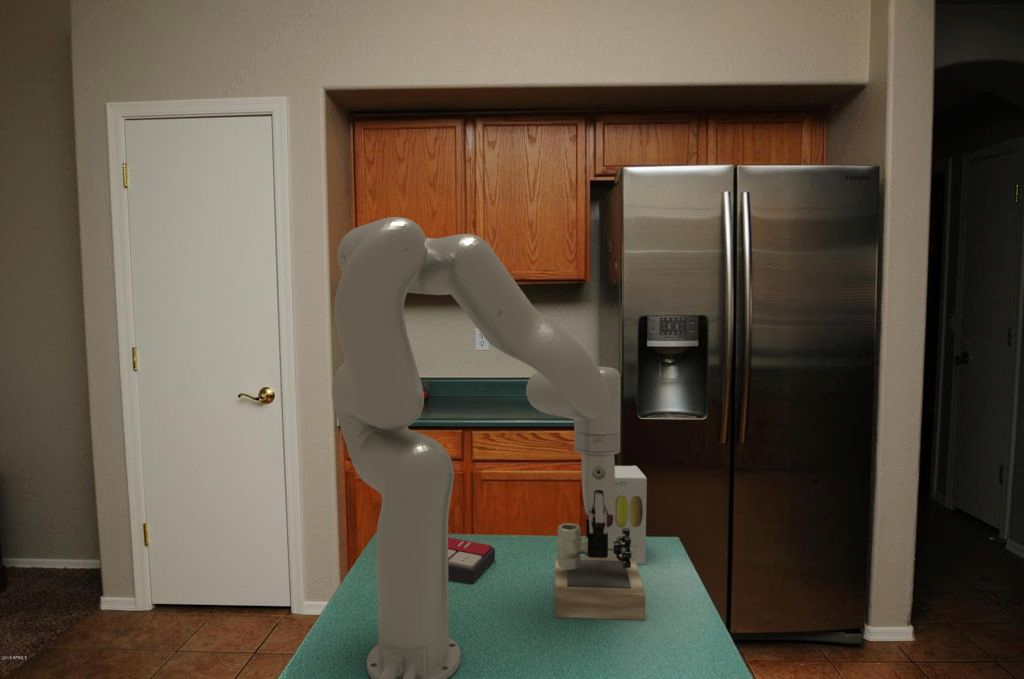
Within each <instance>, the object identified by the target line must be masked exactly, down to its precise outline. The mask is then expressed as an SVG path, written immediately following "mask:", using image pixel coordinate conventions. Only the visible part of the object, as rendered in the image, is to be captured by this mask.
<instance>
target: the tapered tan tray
mask: <svg viewBox="0 0 1024 679" xmlns="http://www.w3.org/2000/svg"><path fill="white" fill-rule="evenodd" d="M630 561H631V568H623V563H626V562H624V561H619V560H618V559H617V558H590V557H588V556H581V565H580V567H578V568H577V569H573V570H568V569H563V568H561V567H560V566H559V565H558V555H556V556H555V566H554V567H555V568H554V569H555V570H554V575H555V576H554V618H571V619H572V618H573V619H574V618H575V619H599V620H602V619H603V620H628V621H646V592H645V589H644V586H643V583H642V578H641V576H640V572H639V569H638V566H637V565H638V564H636V561H635V558H630Z"/></svg>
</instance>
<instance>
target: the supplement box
mask: <svg viewBox="0 0 1024 679" xmlns="http://www.w3.org/2000/svg"><path fill="white" fill-rule="evenodd" d="M647 478H648V477H646V475H645V474H644V473H643V471H642V470H641V469H640V468H639V467H638V466H637V465H615V506H616V514H615V515H614V516H612V515H609V514H608V512H607V532H608V544H613V542H614V541H616V538H617V537H619V536H624V534H622V529H623V528H629V529H630V535H629V537H630V538H631V545H630V551H631V558H635V561H636V565H646V547H647V545H646V541H647V540H646V539H647V498H648V497H647V495H648V494H647V490H648V489H647V486H648V483H647V482H648V481H647V480H648V479H647ZM620 542H622V540H620ZM619 556H620V557H622V554H619ZM607 558H617V557H616V554H614V552H613V551H608V557H607Z"/></svg>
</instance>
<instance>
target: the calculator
mask: <svg viewBox="0 0 1024 679" xmlns="http://www.w3.org/2000/svg"><path fill="white" fill-rule="evenodd" d="M495 560H496V548H495V547H493V545H491V544H486V543H481V542H477V541H475V542H474V541H469V540H465V539H461V538H460V539H459V538H456V537H455V538H454V537H449V536H448V582H451V583H452V582H453V583H459V584H465V585H474V584H476V582H477V581H478V580H479V579H480V577H482V576H483V574H485V572H486V571H487V570H488V569H489V568H490V567H491V566H492V565H493V564H494V563H495Z"/></svg>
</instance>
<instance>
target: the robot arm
mask: <svg viewBox="0 0 1024 679" xmlns="http://www.w3.org/2000/svg"><path fill="white" fill-rule="evenodd" d="M336 254H337V256H336V258H337V263H338V264H337V265H338V267H339V268H340V271H341V272H342V273H341V276H340V279H339V282H338V286H337V289H336V293H335V298H334V321H335V326H336V332H337V335H338V339H339V342H340V343H339V344H340V346H341V347H340V348H341V351H342V352H341V353H342V356H343V359H344V362H342V364H341V365H339V367H338V369H337V370H336V372H335V374H334V376H333V378H332V379H333V381H332V385H331V395H332V402H333V407H334V411H335V414H336V417H337V421H338V424H339V427H340V429H341V434H342V436H343V440H344V442H345V445H346V449H347V452H348V455H349V458H350V460H351V463H352V466H353V468H354V470H355V472H356V474H357V476H358V477H359V478H360V479H361V480H362V481H363V482H364V483H365V484H366V485H368V486H369V487H371V488H372V489H374V490H375V491H377V492H378V493H379V494H380V495H381V506H380V507H381V508H380V513H379V516H378V521H377V527H376V561H377V562H376V563H377V564H376V565H377V566H376V569H377V570H376V572H377V578H376V579H377V628H378V629H377V633H378V634H377V635H378V636H377V638H378V640H377V641H378V644H376V645H375V646H374V647H373V648H372V649H371V650H370V652H369V653H368V655H367V659H366V671H367V674H368V676H369V677H370V678H371V679H449V678H450V677H451V676H452V675H453V674H454V673H455V672H456V671H457V670H458V669H459V666H460V664H461V650H460V647H459V645H458V643H457V642H456V641H455V640H454V639H452V638H451V637H450V621H449V620H450V613H449V610H450V607H449V605H450V604H449V602H450V601H449V598H450V597H449V581H448V537H449V514H450V504H451V497H452V493H453V488H454V481H455V480H454V478H455V477H454V476H455V472H454V465H453V461H452V459H451V457H450V455H449V452H448V451H447V450H446V449H445V447H444V446H443V445H442V444H441V443H439V441H437V440H436V439H434V438H432V437H431V436H428V435H426V434H424V433H420V432H418V431H415V430H412V429H409V426H411V425H412V424H414V423H415V422H416V421H417V420H418V418H419V417H420V416H421V414H422V411H423V409H424V404H425V394H424V389H423V384H422V379H421V377H420V373H419V369H418V367H417V364H416V360H415V357H414V352H413V350H412V346H411V344H410V339H409V335H408V331H407V327H406V326H407V325H406V322H405V321H406V320H405V315H404V314H405V312H404V307H405V301H406V297H407V294H408V293H411V294H422V295H431V296H432V295H434V296H444V295H445V296H449V295H450V296H451V297H452V298H453V299H454V300H455V302H456V303H457V304H458V305H459V306H460V308H461V309H462V310H463V311H464V313H465V314H466V315H467V317H468V318H469V319H470V320H471V321H472V323H473V324H474V326H476V328H477V330H478V331H479V332H480V334H482V336H483V337H484V338H485V340H486V341H487V342H488V344H489V345H491V346H492V347H494V348H495V349H497V350H499V351H500V352H501V353H503V354H505V355H507V356H509V357H511V358H514V359H516V360H518V361H519V362H522V363H524V364H526V365H527V366H529V367H531V368H532V369H534V370H535V371H536V372H534V373H533V374H532V375H531V376H530V378H529V379H528V381H527V384H526V388H525V393H526V397H527V400H528V402H529V403H530V404H529V405H531V406H532V407H533V408H535V409H536V410H537V411H538V412H542V413H543V414H547V415H551V416H555V417H562V418H567V419H570V420H574V424H573V425H574V428H573V430H574V437H573V438H574V439H573V440H574V441H573V442H574V443H573V444H574V447H573V450H574V451H575V452H576V453H578V454H581V488H582V498H583V505H584V511H585V512H584V513H585V514H586V515H587V518H586V519H585V522H586V523H585V524H586V525H585V526H586V527H585V533H586V534H585V537H588V556H587V557H590V558H607V557H608V532H607V512H608V514H609V515H612V516H614V515H615V514H616V506H615V466H616V464H615V455H617V454H619V453H621V400H622V399H621V397H622V395H621V394H622V393H621V392H622V391H621V388H622V387H621V386H622V384H621V374H620V372H619V370H618V369H616V368H613V367H608V366H597V364H596V363H595V361H594V360H593V358H592V357H591V356H590V354H589V353H588V351H587V350H586V349H585V348H584V347H583V346H582V345H581V344H580V343H579V342H578V341H577V340H576V339H575V338H574V337H572V336H571V335H570V334H569V333H567V332H566V331H565V330H563V329H562V328H561V327H559V326H558V325H557V324H555V323H554V322H553V321H552V320H551V319H549V318H548V317H547V316H546V315H544V314H542V313H541V312H539V311H538V310H537V309H536V308H535V307H534V306H533V304H532V303H531V302H530V300H529V298H528V297H527V296H526V294H525V293H524V292H523V290H522V289H521V288H520V286H519V285H518V283H517V282H516V280H515V279H514V277H513V276H512V275H511V273H510V272H509V271H508V269H507V268H506V266H505V265H504V264H503V262H502V261H501V259H500V258H499V257H498V255H497V253H495V251H494V250H493V248H492V247H491V246H490V244H489V243H487V241H485V239H483V238H482V237H480V236H479V235H476V234H471V233H462V234H461V233H459V234H454V235H449V236H444V237H440V238H430V237H426V235H425V232H424V231H423V228H422V227H421V226H420V225H419V224H418V223H417V222H415V221H413V220H411V219H409V218H406V217H403V216H402V217H401V216H389V217H385V218H381V219H378V220H375V221H372V222H369V223H367V224H363V225H361V226H357V227H355V228H352V229H351V230H350V231H349V232H348V233H346V234H345V235H344V236H343V237H342V239H341V241H340V242H339V244H338V247H337V252H336Z"/></svg>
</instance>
